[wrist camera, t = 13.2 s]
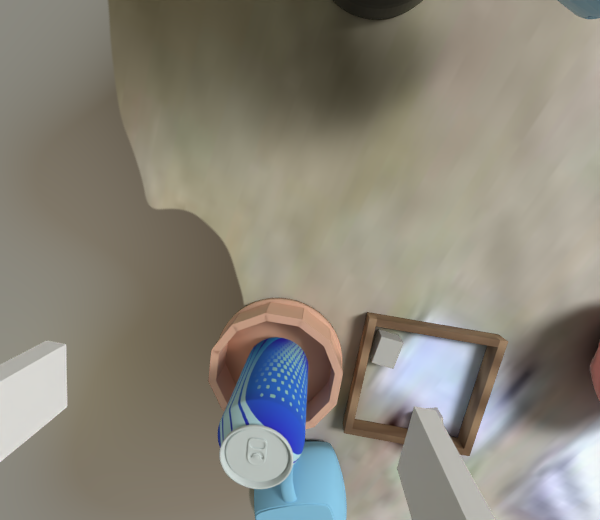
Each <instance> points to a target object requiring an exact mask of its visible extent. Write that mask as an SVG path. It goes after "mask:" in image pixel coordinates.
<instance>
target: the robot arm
mask: <svg viewBox="0 0 600 520" xmlns="http://www.w3.org/2000/svg"><path fill="white" fill-rule="evenodd" d="M333 1H334V2H335V3H336V4H337V5H339V6H340V7H341V8H343V9H344V10H346V11H347V12H349V13H351V14H353V15H356V16H358V17H362V18H367V19H385V18H390V17H394V16H397V15H400V14H402V13H405V12H406V11H408V10H410V9H412V8H413V7H415V6H416V5H418V4H419V3H420V2H421V1H422V0H333ZM558 1H559V2H560V3H561V4H563V5H564V6H565V7H566V8H568V9H569V10H570V11H572V12H573V13H574V14H575V15H577V16H579V17H581V18H585V19H597V18H600V0H558ZM66 407H67V367H66V344H63V343H58V342H52V341H45V342H43V343H41V344H39V345H37V346H35V347H33V348H31V349H29V350H27V351H25V352H23V353H21V354H19V355H17V356H16V357H14V358H12V359H10V360H8V361H6V362H4V363H2V364H0V462H1V461H2V460H3V459H4V458H6V457H7V456H8V455H9V454H10V453H12V452H13V451H14V450H15V449H17V448H18V447H19V446H20V445H21V444H23V443H24V442H25V441H26V440H28V439H29V438H30V437H31V436H32V435H33V434H35V433H36V432H37V431H38V430H40V429H41V428H42V427H43V426H45V425H46V424H47V423H48V422H49V421H51V419H53V418H54V417H55V416H57V415H58V414H59V413H60V412H61V411H63V410H64V409H65V408H66ZM397 470H398V473H399V477H400V480H401V483H402V487H403V490H404V494H405V497H406V500H407V504H408V507H409V511H410V514H411V518H412V520H496V519H495V517H494V515H493V513H492V512H491V510H490V508H489V506H488V504H487V503H486V501H485V499H484V497H483V495H482V494H481V492H480V490H479V488H478V486H477V485H476V483H475V481H474V479H473V477H472V476H471V474H470V472H469V470H468V468H467V467H466V465H465V463H464V461H463V459H462V457H461V456H460V454H459V452H458V450H457V448H456V447H455V445H454V443H453V441H452V439H451V438H450V436H449V434H448V432H447V430H446V429H445V427H444V425H443V423H442V421H441V420H440V418H439V416H438V414H437V412H436V411H435V410H431V409H425V408H420V407H414V409H413V413H412V416H411V420H410V424H409V427H408V431H407V434H406V438H405V442H404V445H403V449H402V452H401V456H400V460H399V463H398V467H397Z"/></svg>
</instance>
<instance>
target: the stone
mask: <svg viewBox="0 0 600 520" xmlns="http://www.w3.org/2000/svg"><path fill="white" fill-rule="evenodd" d="M402 346H403V341H402V339H401V338H400V336H399V335H397V334H393V333H390V332H387V331H383V330H380V329H378V331H377V334H376V336H375V339H374V342H373V345H372V347H371V350H370V353H369V356H370V359H371V362H372V363H375V364H378V365H382V366H385V367H389V368H392V369H393V368H394V366H395V363H396V361H397V358H398V356H399V353H400V351H401V348H402Z"/></svg>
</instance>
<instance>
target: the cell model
mask: <svg viewBox="0 0 600 520" xmlns="http://www.w3.org/2000/svg"><path fill="white" fill-rule="evenodd" d="M589 370H590V374H591V377H592V383H593V387H594V390H595V393H596V395H597V397H598V399H599V402H600V341H599V345H598V348H597V350H596V353H595V355H594V357H593V359H592V361H591V363H590V367H589Z"/></svg>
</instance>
